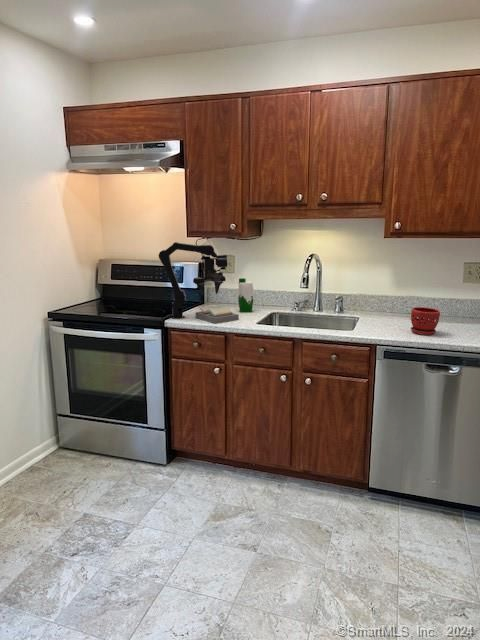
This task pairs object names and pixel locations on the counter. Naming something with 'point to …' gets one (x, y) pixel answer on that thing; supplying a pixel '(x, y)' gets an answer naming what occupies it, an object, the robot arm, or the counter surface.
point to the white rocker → (206, 308)
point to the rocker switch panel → (217, 317)
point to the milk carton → (245, 295)
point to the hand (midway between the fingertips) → (209, 294)
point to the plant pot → (424, 320)
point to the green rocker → (220, 311)
